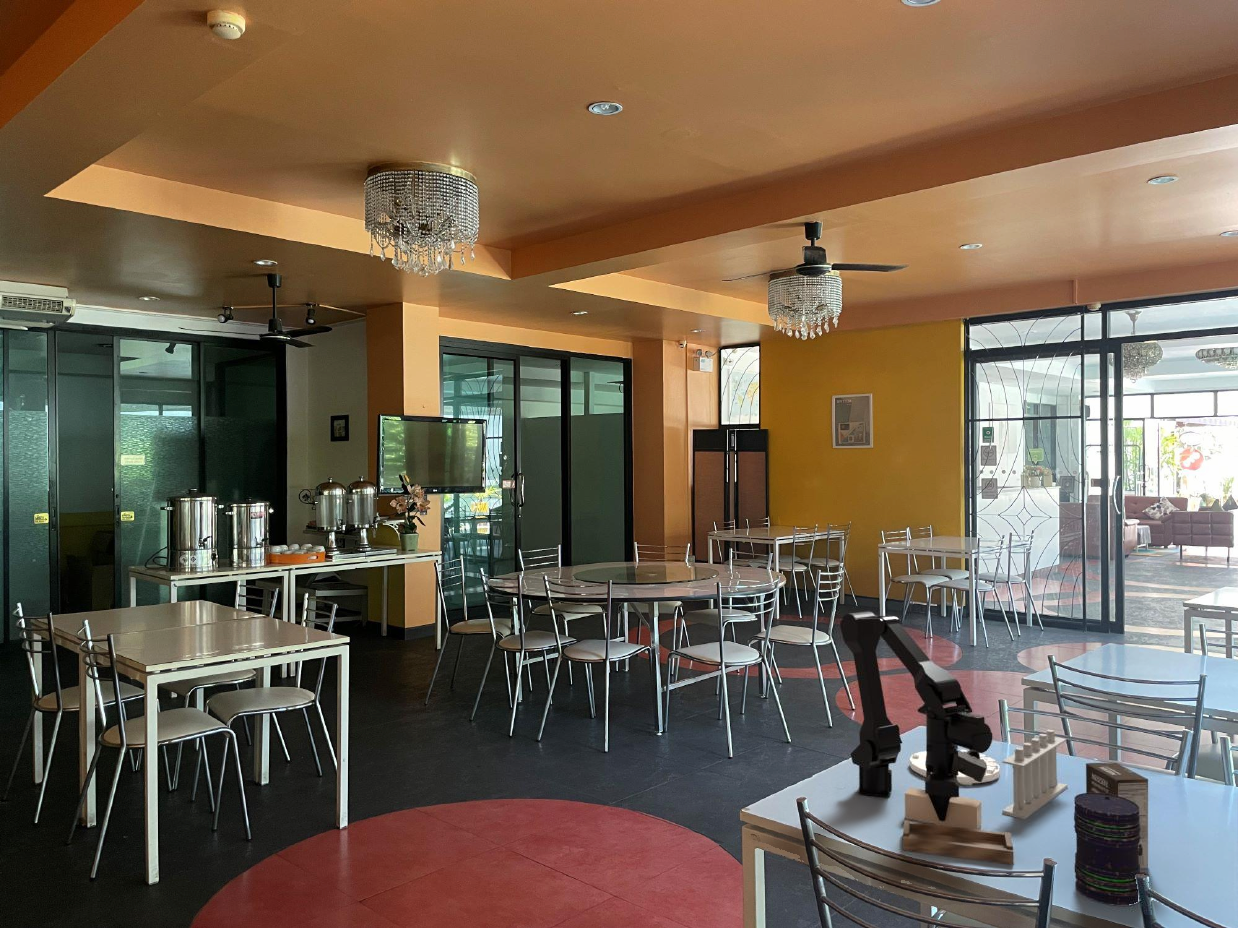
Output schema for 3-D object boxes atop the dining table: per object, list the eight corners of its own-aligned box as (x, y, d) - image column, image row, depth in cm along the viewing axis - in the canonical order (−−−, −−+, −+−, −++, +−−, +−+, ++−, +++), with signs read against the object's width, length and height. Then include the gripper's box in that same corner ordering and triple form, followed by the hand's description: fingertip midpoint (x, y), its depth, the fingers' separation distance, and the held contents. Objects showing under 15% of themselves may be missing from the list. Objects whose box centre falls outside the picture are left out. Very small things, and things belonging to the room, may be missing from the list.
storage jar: (1140, 911, 142) (1139, 818, 143) (1072, 896, 148) (1070, 806, 148) (1142, 886, 151) (1141, 799, 151) (1077, 873, 156) (1076, 788, 156)
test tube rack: (1024, 819, 180) (1023, 754, 180) (1002, 813, 184) (1001, 750, 184) (1067, 788, 198) (1066, 728, 198) (1046, 783, 201) (1046, 725, 201)
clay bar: (905, 817, 182) (904, 793, 182) (910, 811, 185) (910, 787, 185) (977, 832, 174) (976, 806, 174) (981, 825, 177) (981, 800, 177)
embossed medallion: (935, 753, 224) (935, 742, 224) (1014, 772, 209) (1014, 759, 209) (894, 772, 210) (894, 759, 210) (975, 793, 196) (974, 779, 196)
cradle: (903, 849, 166) (903, 834, 166) (904, 832, 174) (904, 818, 174) (1013, 864, 160) (1013, 848, 160) (1009, 845, 168) (1009, 830, 168)
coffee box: (1084, 848, 166) (1083, 762, 166) (1117, 846, 167) (1116, 761, 167) (1116, 870, 157) (1115, 779, 157) (1150, 868, 158) (1149, 777, 158)
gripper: (986, 757, 168) (987, 839, 168) (981, 729, 186) (982, 804, 186) (924, 751, 172) (925, 831, 172) (925, 725, 190) (926, 798, 189)
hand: (942, 816), depth 180 cm, fingers closed on clay bar, 4 cm apart
